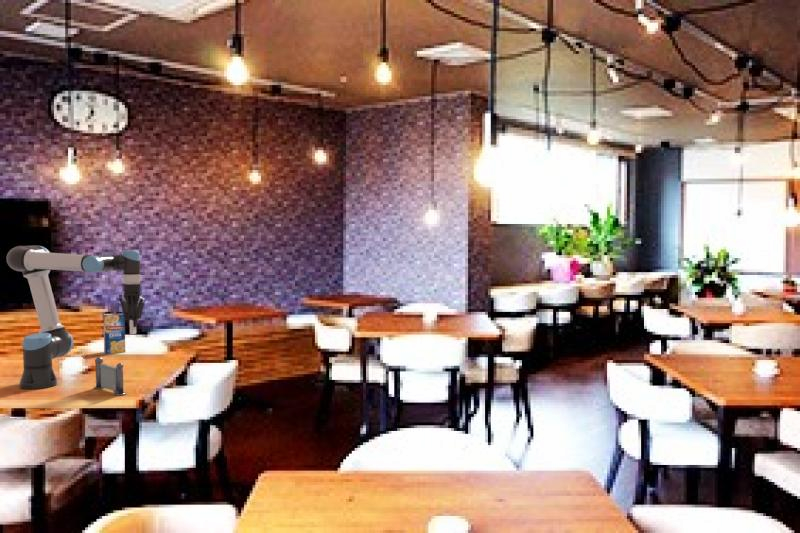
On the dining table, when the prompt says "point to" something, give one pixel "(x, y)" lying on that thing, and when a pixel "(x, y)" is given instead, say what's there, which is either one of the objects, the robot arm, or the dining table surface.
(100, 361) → the hinge post
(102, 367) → the gate
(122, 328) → the blue cracker box
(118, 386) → the latch post
